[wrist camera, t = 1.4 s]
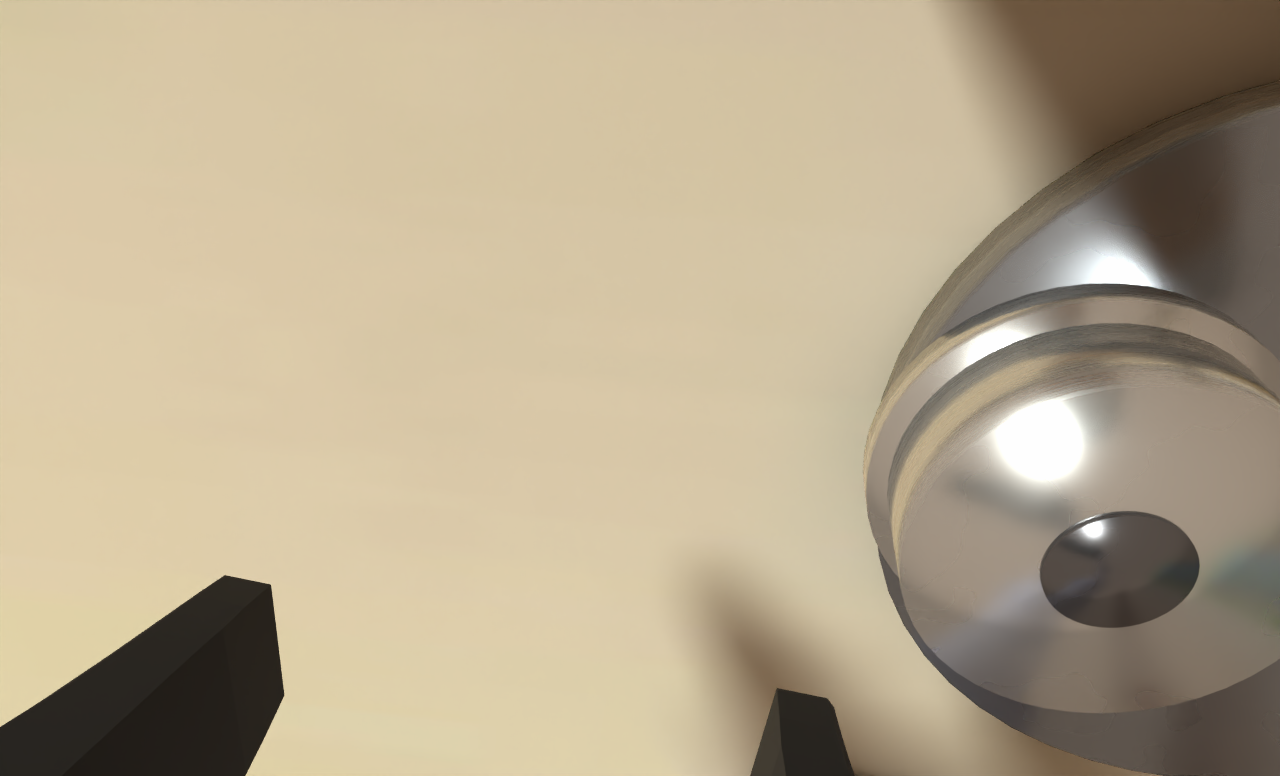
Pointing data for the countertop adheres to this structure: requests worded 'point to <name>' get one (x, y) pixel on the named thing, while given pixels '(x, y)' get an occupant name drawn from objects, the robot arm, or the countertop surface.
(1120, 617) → the cover
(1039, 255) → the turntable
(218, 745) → the robot arm
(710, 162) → the countertop surface
